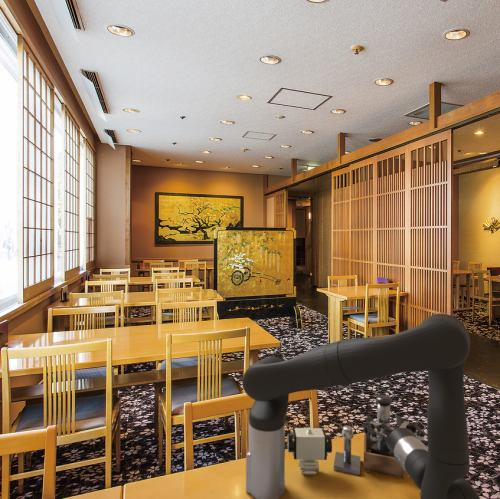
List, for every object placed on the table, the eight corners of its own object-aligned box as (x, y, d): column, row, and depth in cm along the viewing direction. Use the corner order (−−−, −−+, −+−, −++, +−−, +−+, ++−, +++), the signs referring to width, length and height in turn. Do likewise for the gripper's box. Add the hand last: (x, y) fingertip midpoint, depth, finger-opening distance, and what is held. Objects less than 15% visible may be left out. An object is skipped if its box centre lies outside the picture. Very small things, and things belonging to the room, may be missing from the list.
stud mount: (333, 469, 98) (333, 431, 98) (335, 455, 104) (336, 419, 104) (359, 475, 96) (360, 436, 95) (360, 460, 102) (360, 424, 102)
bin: (363, 470, 98) (363, 452, 97) (364, 450, 107) (364, 434, 107) (403, 478, 94) (403, 460, 94) (400, 457, 104) (400, 440, 104)
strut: (370, 461, 100) (371, 398, 100) (377, 453, 104) (378, 392, 104) (389, 469, 97) (390, 403, 96) (395, 460, 101) (396, 397, 100)
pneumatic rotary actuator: (332, 477, 95) (332, 433, 95) (288, 476, 95) (288, 432, 95) (327, 464, 100) (328, 422, 100) (286, 463, 100) (287, 422, 100)
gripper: (439, 436, 85) (407, 405, 101) (380, 437, 84) (358, 405, 100) (439, 467, 85) (407, 431, 101) (380, 468, 84) (358, 431, 100)
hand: (382, 418), depth 101 cm, fingers open, 8 cm apart
